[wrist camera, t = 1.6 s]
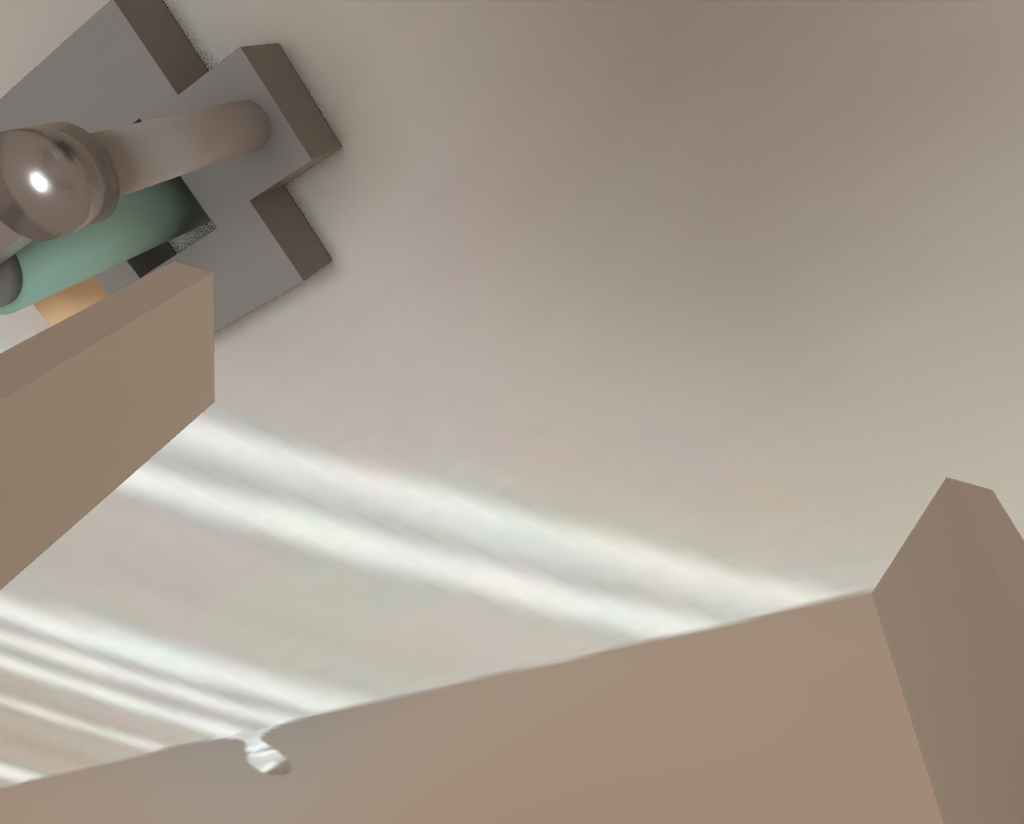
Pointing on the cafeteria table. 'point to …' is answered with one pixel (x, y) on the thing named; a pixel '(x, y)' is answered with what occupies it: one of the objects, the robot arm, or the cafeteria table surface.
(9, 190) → the clip
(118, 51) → the socket block
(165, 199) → the plug
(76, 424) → the robot arm
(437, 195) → the cafeteria table surface
